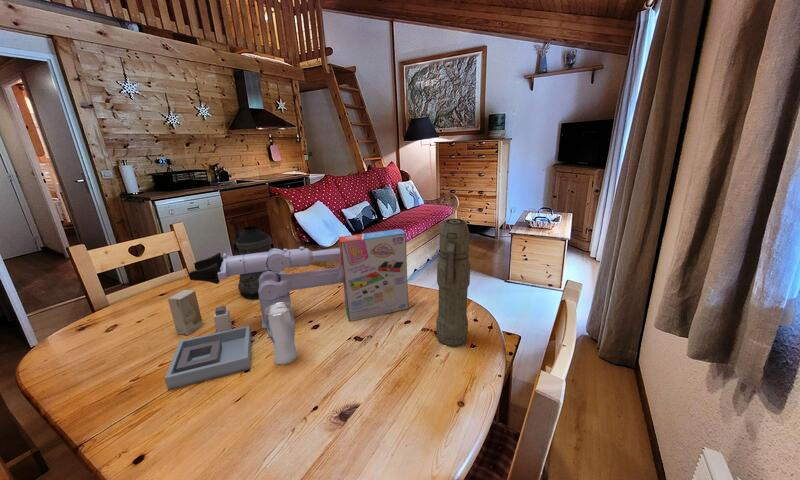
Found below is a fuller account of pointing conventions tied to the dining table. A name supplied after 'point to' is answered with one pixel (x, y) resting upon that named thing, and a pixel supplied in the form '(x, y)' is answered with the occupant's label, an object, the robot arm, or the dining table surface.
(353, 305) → the game box
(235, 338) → the inlet box
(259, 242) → the beer stein
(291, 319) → the beer glass
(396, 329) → the dining table surface
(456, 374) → the dining table surface
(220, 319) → the plug
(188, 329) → the skincare box
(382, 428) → the dining table surface
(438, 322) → the thermos
